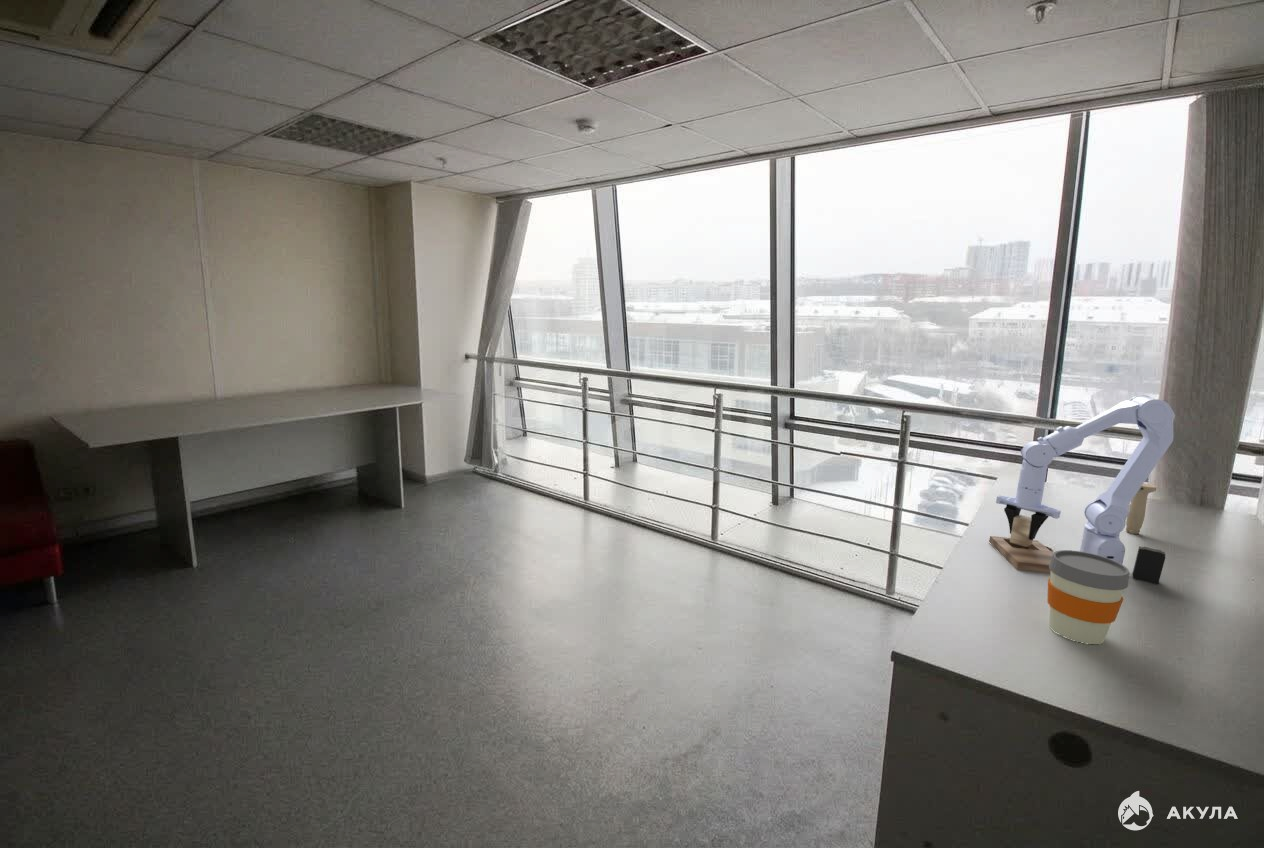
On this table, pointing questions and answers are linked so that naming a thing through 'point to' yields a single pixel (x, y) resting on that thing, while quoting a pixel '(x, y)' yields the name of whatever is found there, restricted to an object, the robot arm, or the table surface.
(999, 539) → the slotted walnut block
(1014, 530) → the maple peg
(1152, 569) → the ink cartridge
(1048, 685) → the table surface
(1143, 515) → the handle
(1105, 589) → the reusable coffee cup
